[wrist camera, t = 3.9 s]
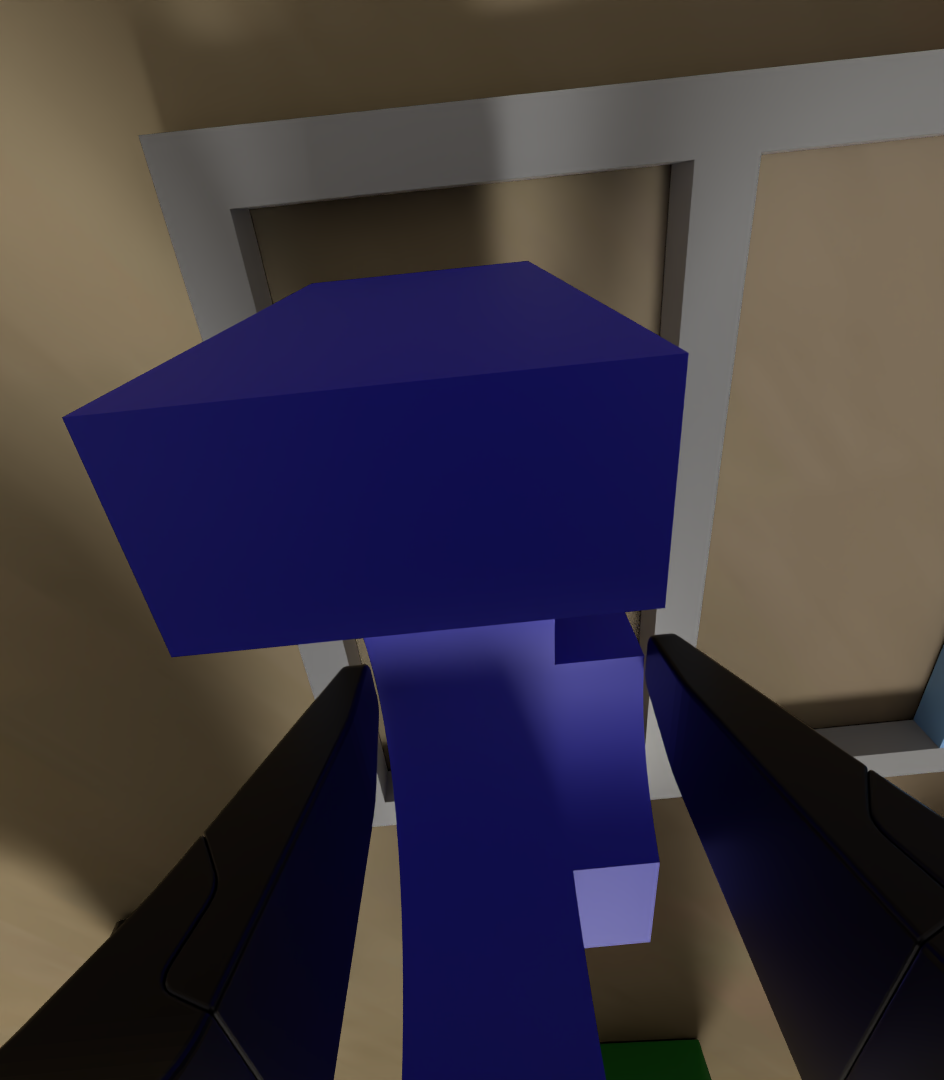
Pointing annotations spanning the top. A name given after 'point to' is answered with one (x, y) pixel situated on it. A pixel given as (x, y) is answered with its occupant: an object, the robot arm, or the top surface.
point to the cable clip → (439, 601)
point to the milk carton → (654, 1060)
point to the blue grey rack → (558, 150)
